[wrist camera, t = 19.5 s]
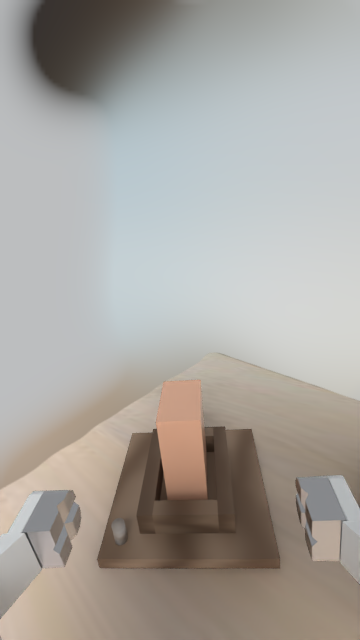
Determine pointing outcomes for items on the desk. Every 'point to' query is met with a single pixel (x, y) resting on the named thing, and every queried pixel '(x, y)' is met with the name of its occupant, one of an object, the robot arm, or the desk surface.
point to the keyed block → (183, 440)
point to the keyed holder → (191, 511)
